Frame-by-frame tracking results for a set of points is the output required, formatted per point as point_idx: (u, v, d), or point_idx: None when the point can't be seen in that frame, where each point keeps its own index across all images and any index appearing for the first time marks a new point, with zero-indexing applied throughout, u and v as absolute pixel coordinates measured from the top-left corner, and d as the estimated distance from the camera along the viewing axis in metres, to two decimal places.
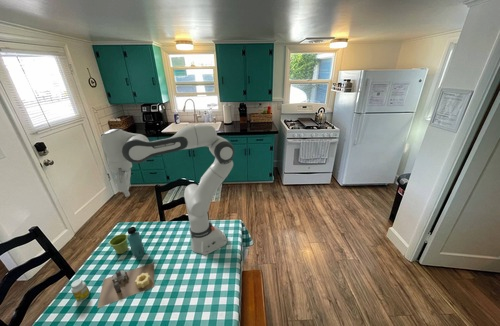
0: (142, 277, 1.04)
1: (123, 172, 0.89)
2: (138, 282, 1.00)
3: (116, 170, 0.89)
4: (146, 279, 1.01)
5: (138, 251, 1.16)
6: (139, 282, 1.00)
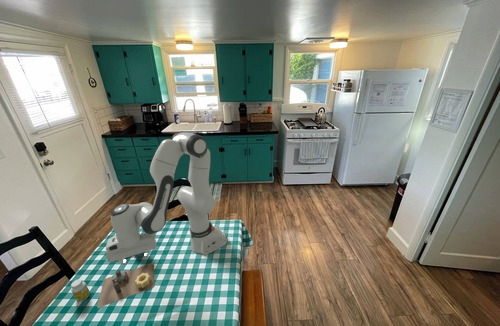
0: (142, 277, 1.04)
1: None
2: (138, 282, 1.00)
3: (139, 238, 0.92)
4: (146, 279, 1.01)
5: None
6: (139, 282, 1.00)
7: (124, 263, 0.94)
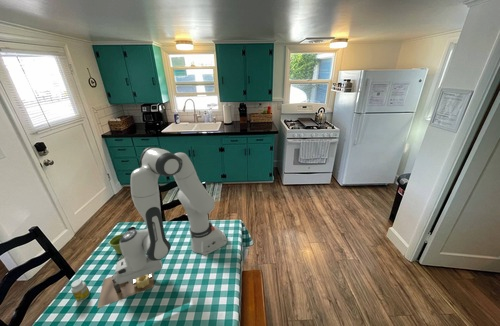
0: (142, 277, 1.04)
1: None
2: (138, 282, 1.00)
3: (146, 261, 0.98)
4: (146, 279, 1.01)
5: None
6: (139, 282, 1.00)
7: (134, 283, 1.00)
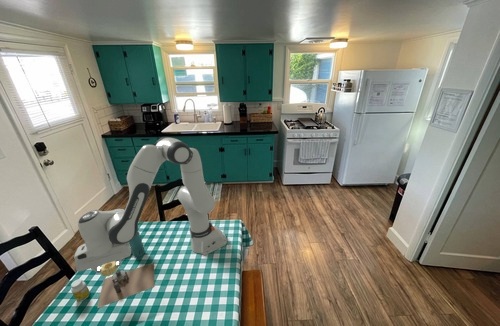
0: (109, 265, 0.94)
1: None
2: (103, 270, 0.90)
3: (111, 246, 0.88)
4: (112, 267, 0.91)
5: (138, 251, 1.16)
6: (104, 270, 0.90)
7: (98, 271, 0.90)
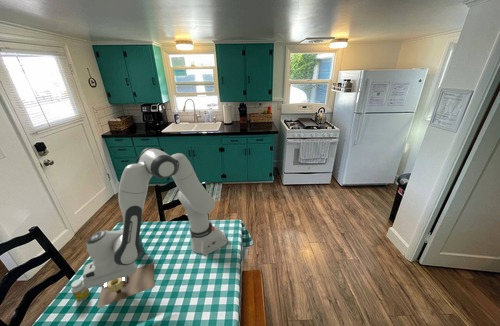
0: (115, 281, 0.98)
1: None
2: (109, 286, 0.94)
3: (117, 263, 0.92)
4: (118, 283, 0.95)
5: None
6: (110, 286, 0.94)
7: (105, 287, 0.94)
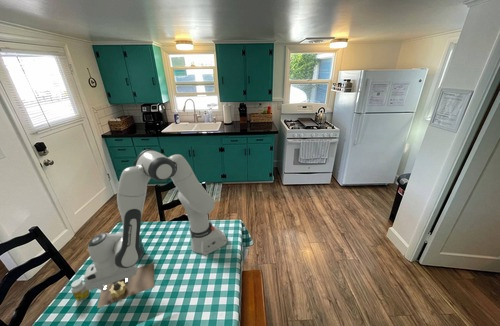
0: None
1: None
2: (112, 291, 0.96)
3: None
4: (121, 288, 0.97)
5: None
6: (113, 291, 0.96)
7: (104, 290, 0.95)
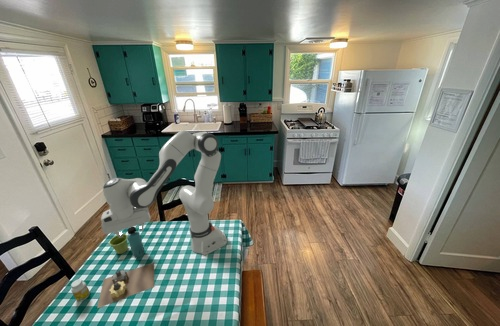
0: None
1: None
2: (112, 291, 0.96)
3: (133, 211, 0.96)
4: (121, 288, 0.97)
5: (138, 251, 1.16)
6: (113, 291, 0.96)
7: (120, 235, 0.98)
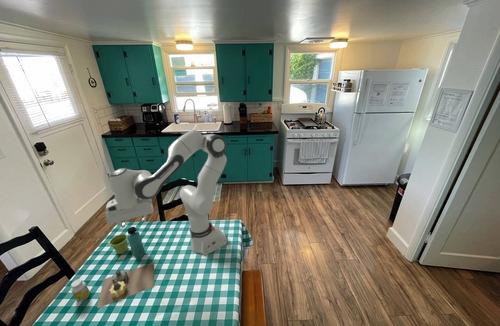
0: None
1: None
2: (112, 291, 0.96)
3: (137, 201, 0.98)
4: (121, 288, 0.97)
5: (138, 251, 1.16)
6: (113, 291, 0.96)
7: (123, 226, 1.00)
